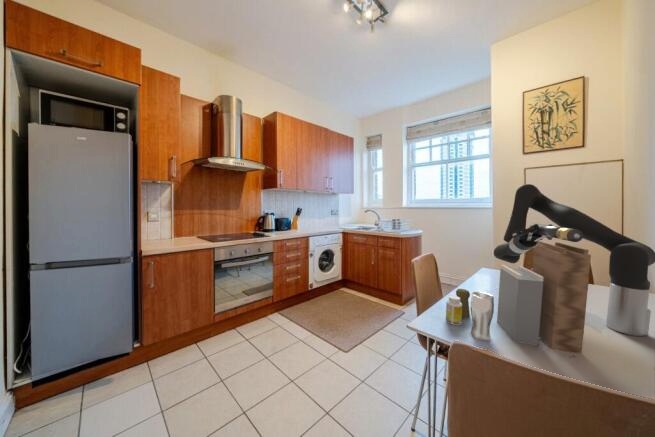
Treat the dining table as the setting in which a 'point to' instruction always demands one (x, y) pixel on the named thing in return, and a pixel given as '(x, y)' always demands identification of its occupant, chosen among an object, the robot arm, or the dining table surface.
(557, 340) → the tall stand
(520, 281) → the grey magazine holder
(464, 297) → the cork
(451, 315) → the supplement bottle
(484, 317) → the beer glass
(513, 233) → the robot arm
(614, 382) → the dining table surface
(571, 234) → the black gold-banded rod
